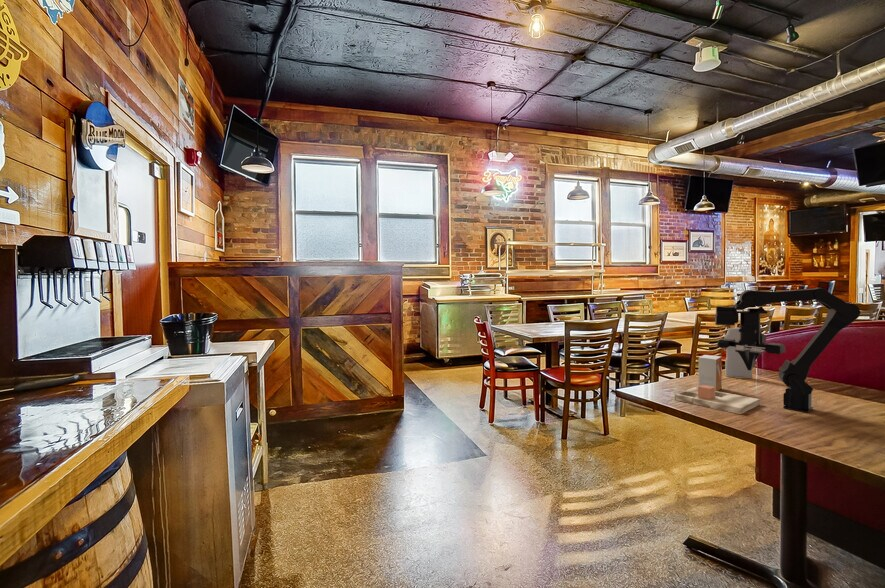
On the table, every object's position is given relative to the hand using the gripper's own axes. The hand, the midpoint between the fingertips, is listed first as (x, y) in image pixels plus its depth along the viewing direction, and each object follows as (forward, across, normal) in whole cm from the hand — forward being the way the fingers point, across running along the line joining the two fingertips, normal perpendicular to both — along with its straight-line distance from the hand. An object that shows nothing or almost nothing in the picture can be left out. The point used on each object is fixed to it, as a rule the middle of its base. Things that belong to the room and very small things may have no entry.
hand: (749, 370), depth 150 cm
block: (+10, +10, +10) cm, 17 cm away
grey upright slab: (+12, +18, -39) cm, 44 cm away
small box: (+12, +17, -10) cm, 23 cm away
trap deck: (+12, +8, +6) cm, 16 cm away
